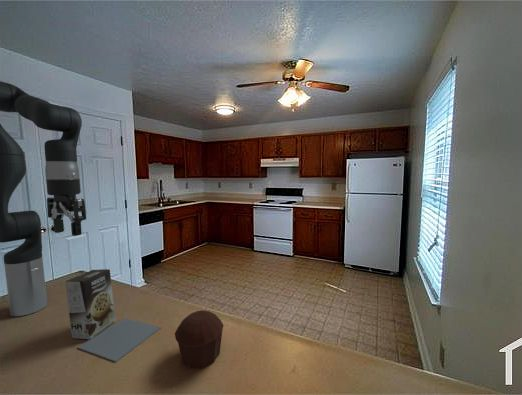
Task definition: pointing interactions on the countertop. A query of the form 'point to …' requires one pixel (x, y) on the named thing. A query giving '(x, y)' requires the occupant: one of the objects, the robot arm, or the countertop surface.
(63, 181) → the robot arm
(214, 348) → the muffin
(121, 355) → the mat
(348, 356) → the countertop surface
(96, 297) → the coffee box
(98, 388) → the countertop surface
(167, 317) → the countertop surface
